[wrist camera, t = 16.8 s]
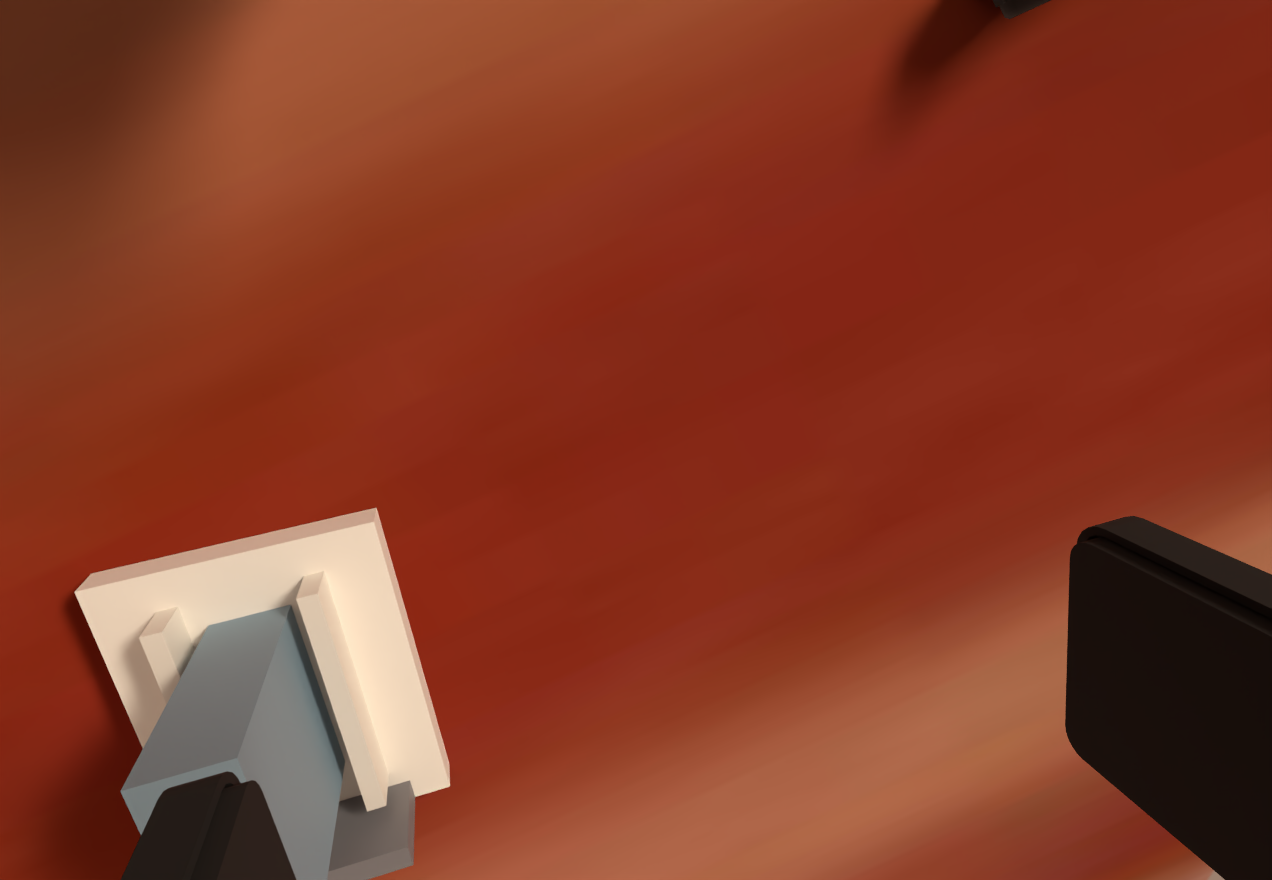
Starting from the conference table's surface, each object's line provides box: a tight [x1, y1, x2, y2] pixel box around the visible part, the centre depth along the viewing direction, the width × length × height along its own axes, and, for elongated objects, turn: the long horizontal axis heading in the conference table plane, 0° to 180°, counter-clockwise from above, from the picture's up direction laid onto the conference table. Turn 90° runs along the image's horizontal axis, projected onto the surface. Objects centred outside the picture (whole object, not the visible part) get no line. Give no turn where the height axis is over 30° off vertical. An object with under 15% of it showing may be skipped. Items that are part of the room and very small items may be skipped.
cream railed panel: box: [75, 508, 450, 880], centre depth 40 cm, size 17×14×7 cm
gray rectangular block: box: [120, 605, 345, 880], centre depth 36 cm, size 10×4×12 cm, turn 10°
